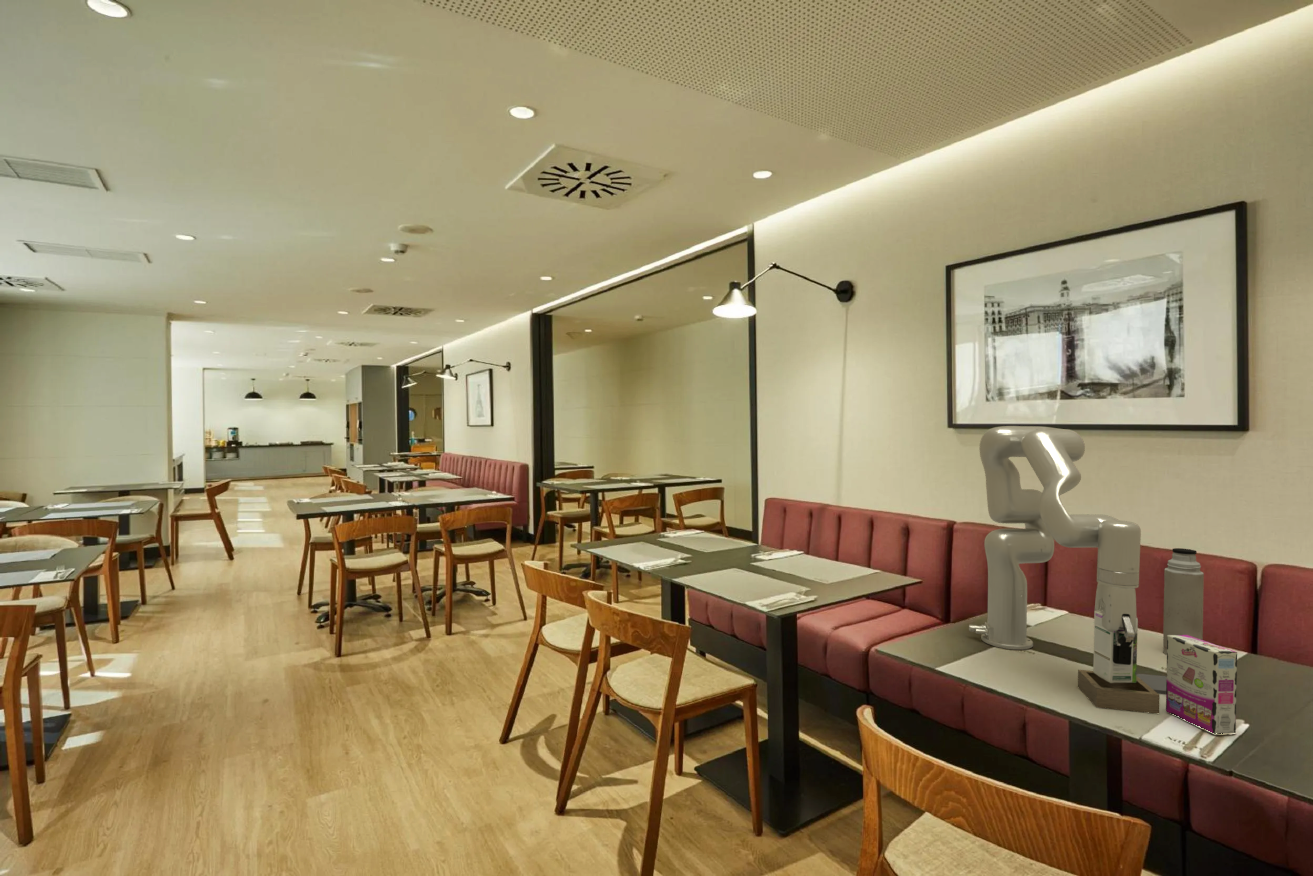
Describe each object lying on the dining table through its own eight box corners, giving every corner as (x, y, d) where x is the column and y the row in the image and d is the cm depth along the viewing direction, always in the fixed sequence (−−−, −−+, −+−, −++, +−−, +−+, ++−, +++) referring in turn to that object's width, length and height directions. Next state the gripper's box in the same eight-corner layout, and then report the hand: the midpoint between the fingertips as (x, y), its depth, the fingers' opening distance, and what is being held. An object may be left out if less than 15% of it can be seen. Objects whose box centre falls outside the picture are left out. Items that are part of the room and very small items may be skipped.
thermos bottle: (1157, 648, 175) (1159, 545, 174) (1193, 652, 172) (1195, 547, 172) (1170, 658, 167) (1172, 550, 167) (1208, 662, 165) (1210, 553, 164)
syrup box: (1110, 683, 140) (1112, 617, 139) (1091, 672, 146) (1094, 609, 145) (1136, 683, 140) (1139, 617, 139) (1117, 672, 146) (1119, 609, 145)
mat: (1143, 692, 146) (1143, 688, 146) (1124, 675, 156) (1124, 672, 156) (1195, 697, 144) (1195, 693, 143) (1173, 680, 153) (1173, 677, 153)
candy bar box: (1238, 735, 126) (1239, 651, 125) (1214, 736, 125) (1215, 652, 125) (1186, 710, 137) (1187, 633, 137) (1164, 711, 136) (1165, 634, 136)
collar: (1096, 707, 138) (1096, 688, 138) (1077, 686, 149) (1078, 669, 149) (1159, 714, 135) (1159, 695, 135) (1135, 692, 146) (1135, 675, 146)
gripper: (1083, 566, 151) (1081, 642, 152) (1113, 586, 134) (1110, 670, 135) (1121, 569, 149) (1118, 645, 150) (1156, 589, 132) (1152, 675, 133)
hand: (1114, 656), depth 143 cm, fingers closed on syrup box, 6 cm apart
